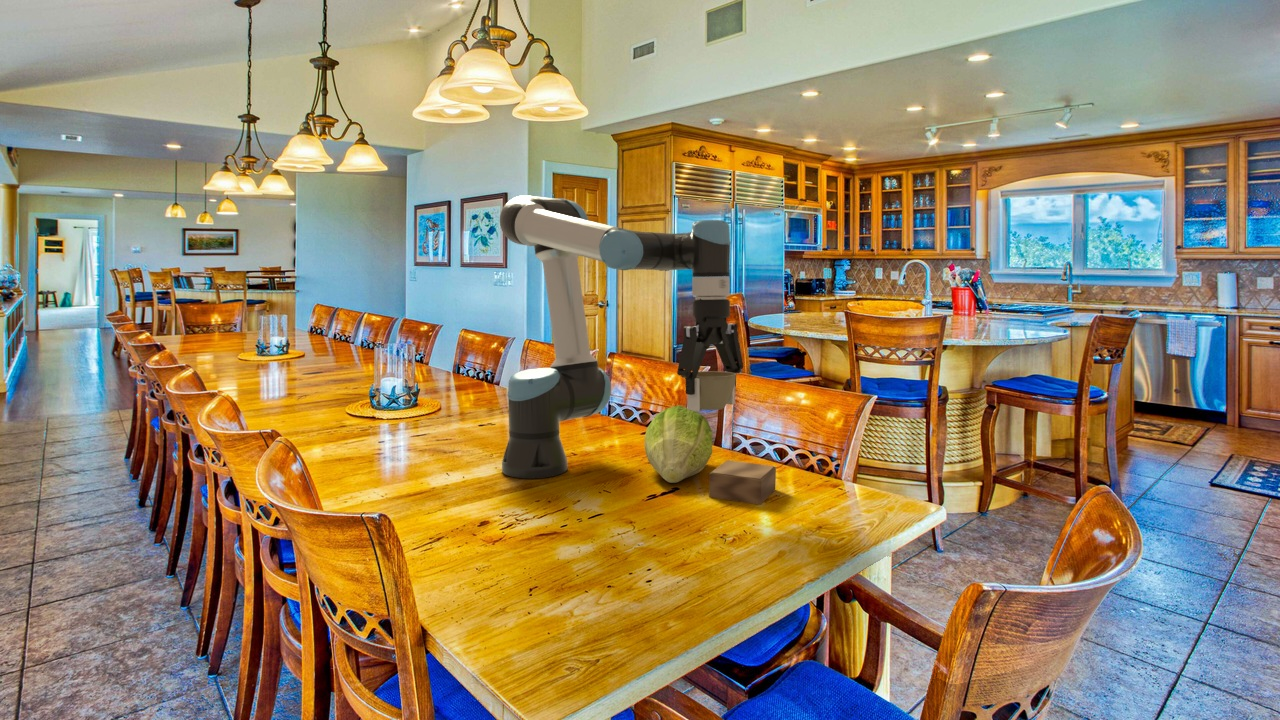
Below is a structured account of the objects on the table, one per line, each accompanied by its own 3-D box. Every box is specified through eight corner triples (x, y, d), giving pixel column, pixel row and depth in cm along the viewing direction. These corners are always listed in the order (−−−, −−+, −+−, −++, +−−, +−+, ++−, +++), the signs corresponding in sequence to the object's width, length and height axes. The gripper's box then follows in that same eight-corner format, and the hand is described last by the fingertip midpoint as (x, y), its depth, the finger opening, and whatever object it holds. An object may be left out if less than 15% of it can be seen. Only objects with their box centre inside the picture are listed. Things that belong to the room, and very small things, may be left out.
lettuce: (710, 509, 151) (640, 512, 155) (718, 445, 173) (656, 449, 176) (700, 453, 145) (626, 458, 149) (709, 394, 166) (644, 399, 170)
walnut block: (709, 496, 145) (709, 472, 144) (726, 482, 154) (726, 459, 154) (760, 504, 140) (761, 479, 139) (775, 489, 150) (775, 465, 149)
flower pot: (744, 406, 145) (744, 372, 144) (721, 414, 137) (721, 378, 136) (702, 402, 150) (701, 369, 150) (678, 409, 142) (677, 375, 141)
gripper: (685, 299, 131) (686, 416, 133) (761, 297, 146) (760, 402, 148) (657, 299, 136) (659, 411, 139) (733, 297, 151) (733, 398, 154)
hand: (711, 407), depth 143 cm, fingers closed on flower pot, 10 cm apart
